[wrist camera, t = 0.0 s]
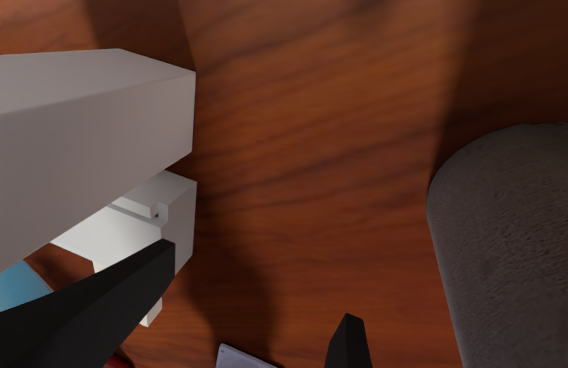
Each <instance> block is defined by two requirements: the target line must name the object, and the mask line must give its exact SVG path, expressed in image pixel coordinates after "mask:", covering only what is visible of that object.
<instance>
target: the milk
mask: <svg viewBox="0 0 568 368" xmlns="http://www.w3.org/2000/svg"><path fill="white" fill-rule="evenodd" d="M195 82H196V73H195V72H194V71H191V70H187V69H184V68H181V67H178V66H174V65H171V64H168V63H165V62H162V61H158V60H155V59H152V58H149V57H145V56H142V55H139V54H136V53H132V52H129V51H126V50H123V49H99V50H82V51H64V52H47V53H29V54H11V55H0V273H2V272H3V271H5V270H6V269H8V268H9V267H11V266H13V265H14V264H16V263H17V262H19V261H21V260H22V259H24V258H25V257H27V256H28V255H30V254H32V253H33V252H35V251H36V250H38V249H39V248H41V247H43V246H44V245H46V244H47V243H49V242H50V241H52V240H54V239H55V238H57V237H58V236H60V235H61V234H63V233H65V232H66V231H68V230H69V229H71V228H73V227H74V226H76V225H77V224H79V223H80V222H82V221H84V220H85V219H87V218H88V217H90V216H91V215H93V214H95V213H96V212H98V211H99V210H101V209H102V208H104V207H106V206H107V205H109V204H110V203H112V202H113V201H115V200H117V199H118V198H120V197H121V196H123V195H125V194H126V193H128V192H129V191H131V190H132V189H134V188H136V187H137V186H139V185H140V184H142V183H143V182H145V181H147V180H148V179H150V178H151V177H153V176H154V175H156V174H158V173H159V172H161V171H162V170H164V169H165V168H167V167H169V166H170V165H172V164H173V163H175V162H177V161H178V160H180V159H181V158H183V157H184V156H186V155H188V154H189V153H191V152H192V140H193V120H194V101H195Z"/></svg>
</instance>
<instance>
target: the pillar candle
mask: <svg viewBox="0 0 568 368" xmlns="http://www.w3.org/2000/svg"><path fill="white" fill-rule="evenodd" d="M426 214H427V220H428V224H429V228H430V232H431V236H432V240H433V245H434V248H435V253H436V257H437V262H438V266H439V270H440V273H441V277H442V282H443V286H444V290H445V294H446V299H447V302H448V307H449V311H450V315H451V319H452V323H453V327H454V332H455V336H456V340H457V344H458V348H459V352H460V357H461V360H462V364H463V368H568V123H565V122H556V123H539V124H531V123H525V124H519V125H514V126H511V127H506V128H503V129H500V130H496V131H493V132H491V133H488V134H486V135H484V136H481V137H479V138H477V139H475V140H474V141H472V142H470V143H469V144H467V145H466V146H464V147H462V148H461V149H459V150H458V151H457V152H455V153H454V154H453V155H452V156H451V157H450V158H449V159H448V160H446V161H445V162H444V164H443V165H442V167H441V168H439V170H438V171H437V173H436V175H435V177H434V178H433V180H432V182H431V184H430V187H429V190H428V194H427V200H426Z"/></svg>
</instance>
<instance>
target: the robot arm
mask: <svg viewBox="0 0 568 368" xmlns="http://www.w3.org/2000/svg"><path fill="white" fill-rule="evenodd" d="M175 250H176V243H173V242H171V241H168V240H166V239H164V238H162V239H160V240H158V241H156V242H154V243H152V244H150V245H148V246H147V247H145V248H143V249H141V250H139V251H137V252H136V253H134V254H132V255H130V256H128V257H126V258H124V259H123V260H121V261H119V262H117V263H115V264H113V265H111V266H109V267H107V268H105V269H103V270H101V271H99V272H97V273H95V274H93V275H91V276H88V277H86V278H84V279H82V280H80V281H78V282H76V283H74V284H71V285H69V286H67V287H64V288H62V289H60V290H57V291H55V292H53V293H50V294H48V295H45V296H43V297H40V298H38V299H35V300H32V301H30V302H27V303H24V304H21V305H19V306H16V307H13V308H10V309H8V310H5V311H2V312H0V368H103V367H104V365H105V364H106V363H107V361H108V360H109V359H110V357H111V356H112V355H113V354H114V352H115V351H116V350H117V349H118V347H119V346H120V345H121V344H122V343H123V342H124V340H125V339H126V338H127V337H128V336H129V335H130V333H131V332H132V331H133V330H134V329H135V328H136V326H137V325H138V324H139V323H140V322H141V321H142V319H143V318H144V317H145V316H146V315H147V314H148V312H149V311H150V310H151V309H152V308H153V307H154V305H155V304H156V303H157V302H158V301H159V299H160V298H161V297H162V295H163V294H164V292H165V291H166V289H167V288H168V286H169V285H170V283H171V282H172V280H173V279H174V277H175ZM216 368H277V367H275V366H273V365H271V364H268V363H266V362H264V361H262V360H259V359H257V358H255V357H253V356H251V355H248V354H246V353H244V352H242V351H239V350H237V349H235V348H233V347H231V346H228V345H226V344H221V345H220V347H219V352H218V358H217V363H216ZM324 368H373V367H372V363H371V358H370V353H369V349H368V344H367V339H366V333H365V327H364V322H363V320H362V319H360V318H358V317H355V316H353V315H351V314H348V313H346V314H345V316H344V317H343V319H342V321H341V323H340V325H339V326H338V328H337V330H336V332H335V333H334V335H333V337H332V339H331V341H330V343H329V347H328V352H327V356H326V361H325V366H324Z"/></svg>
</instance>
